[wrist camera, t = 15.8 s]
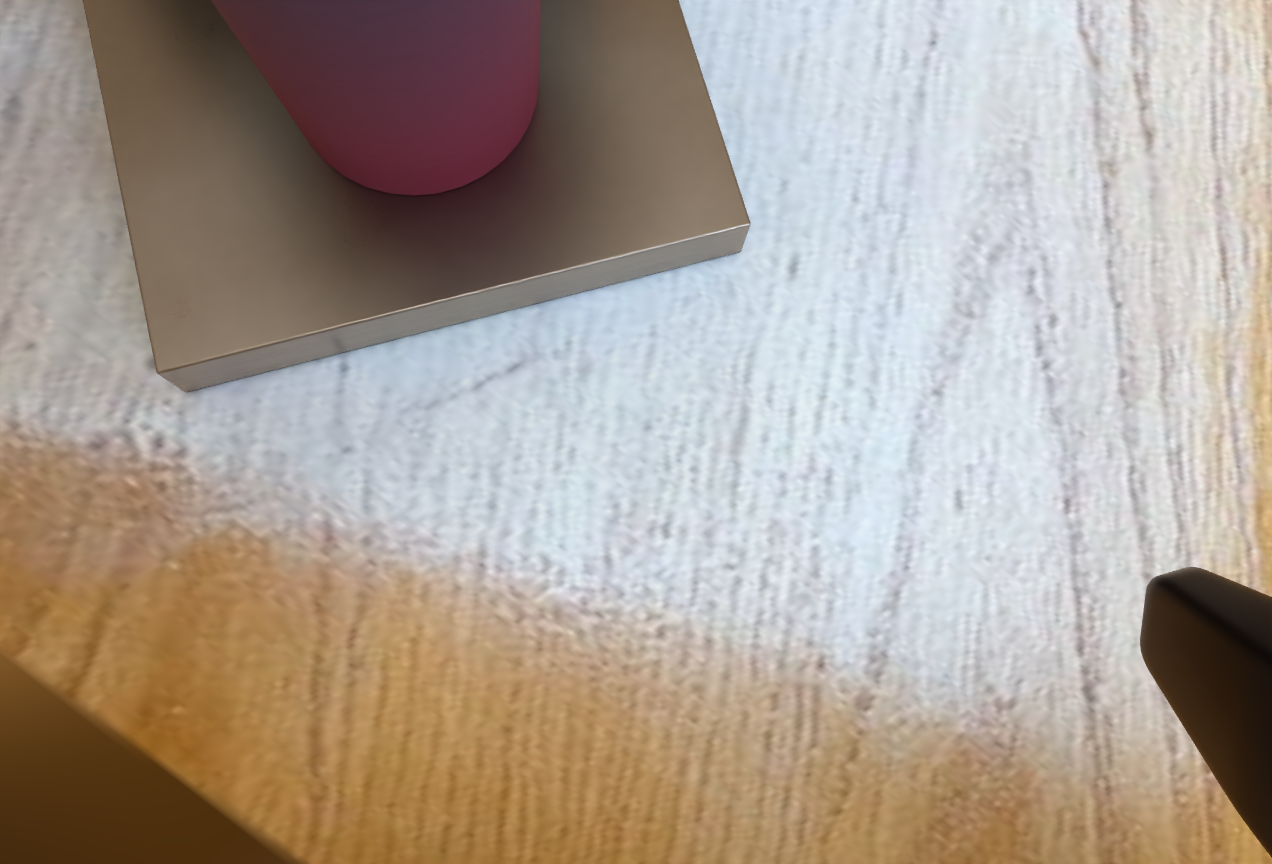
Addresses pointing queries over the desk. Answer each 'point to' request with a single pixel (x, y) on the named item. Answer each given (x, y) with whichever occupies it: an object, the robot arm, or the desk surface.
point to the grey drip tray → (393, 223)
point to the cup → (399, 82)
